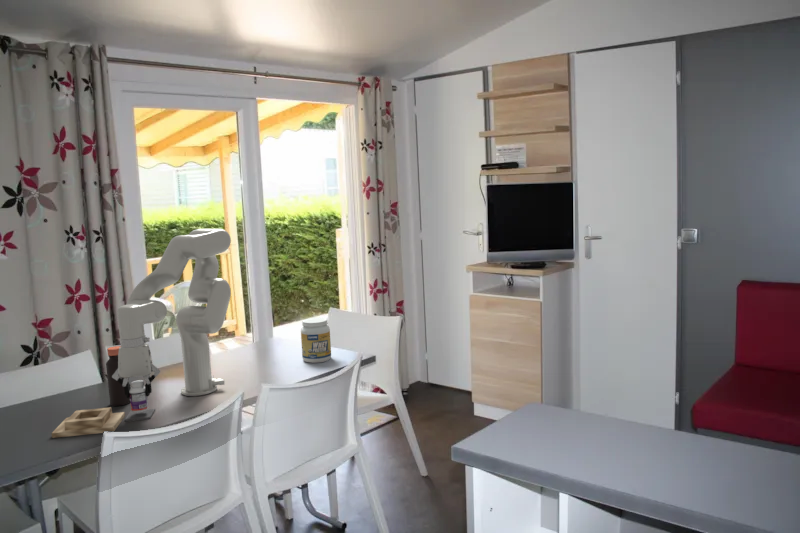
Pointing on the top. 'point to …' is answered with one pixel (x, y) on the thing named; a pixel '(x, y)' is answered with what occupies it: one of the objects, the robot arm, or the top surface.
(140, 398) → the pill bottle
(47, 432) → the top surface
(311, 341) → the supplement tub
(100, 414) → the housing
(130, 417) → the mat
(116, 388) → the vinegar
